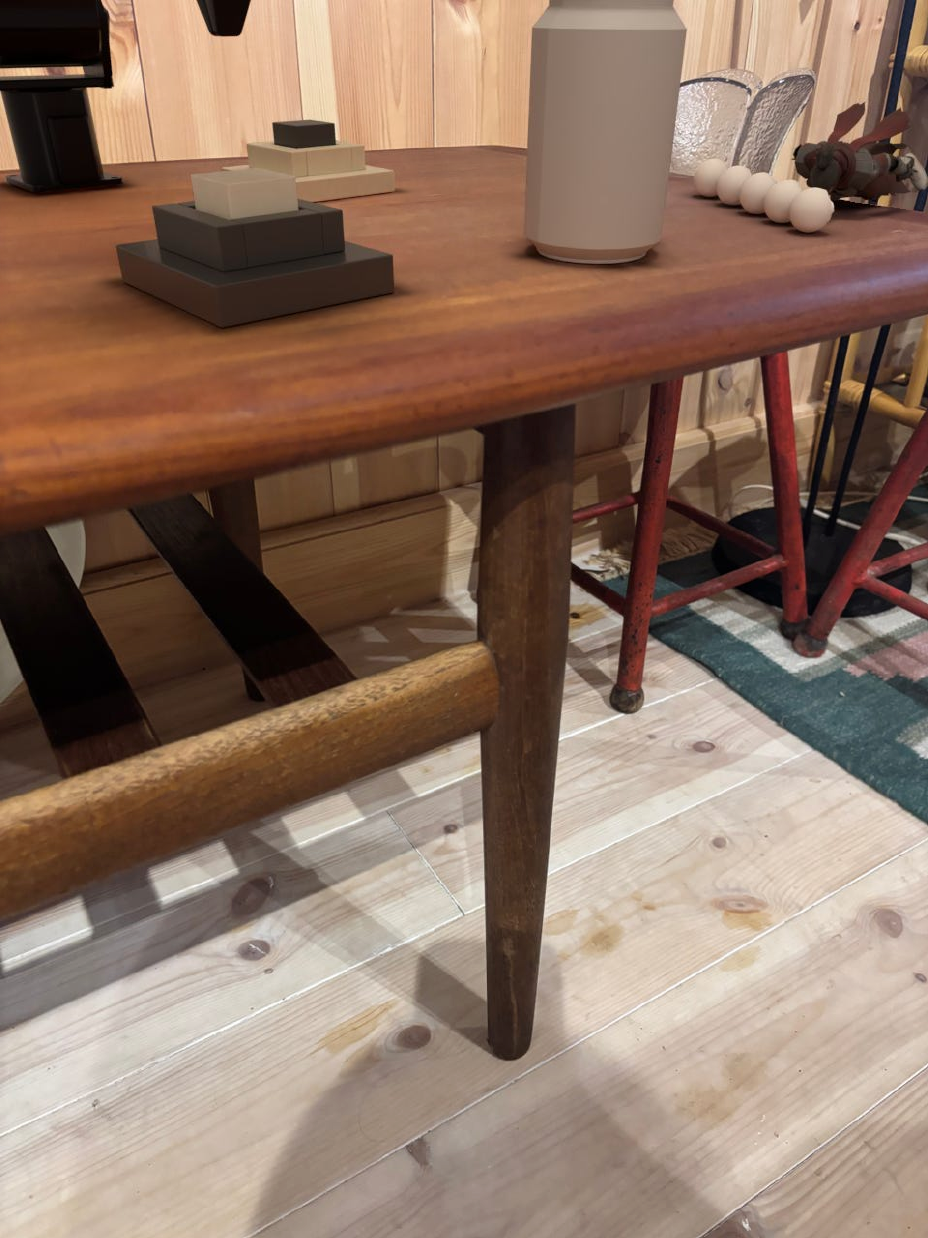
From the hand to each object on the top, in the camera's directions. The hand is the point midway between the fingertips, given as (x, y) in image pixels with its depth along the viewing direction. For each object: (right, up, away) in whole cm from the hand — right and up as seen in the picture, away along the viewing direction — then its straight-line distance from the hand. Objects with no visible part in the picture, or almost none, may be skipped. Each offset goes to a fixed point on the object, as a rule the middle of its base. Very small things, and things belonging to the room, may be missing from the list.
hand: (225, 35), depth 37 cm
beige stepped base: (-1, +7, +29) cm, 30 cm away
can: (+17, -4, +12) cm, 21 cm away
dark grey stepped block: (0, -8, +6) cm, 10 cm away
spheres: (+29, +5, +20) cm, 36 cm away
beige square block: (0, -6, +4) cm, 7 cm away
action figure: (+41, +11, +30) cm, 52 cm away
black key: (-1, +9, +27) cm, 29 cm away
